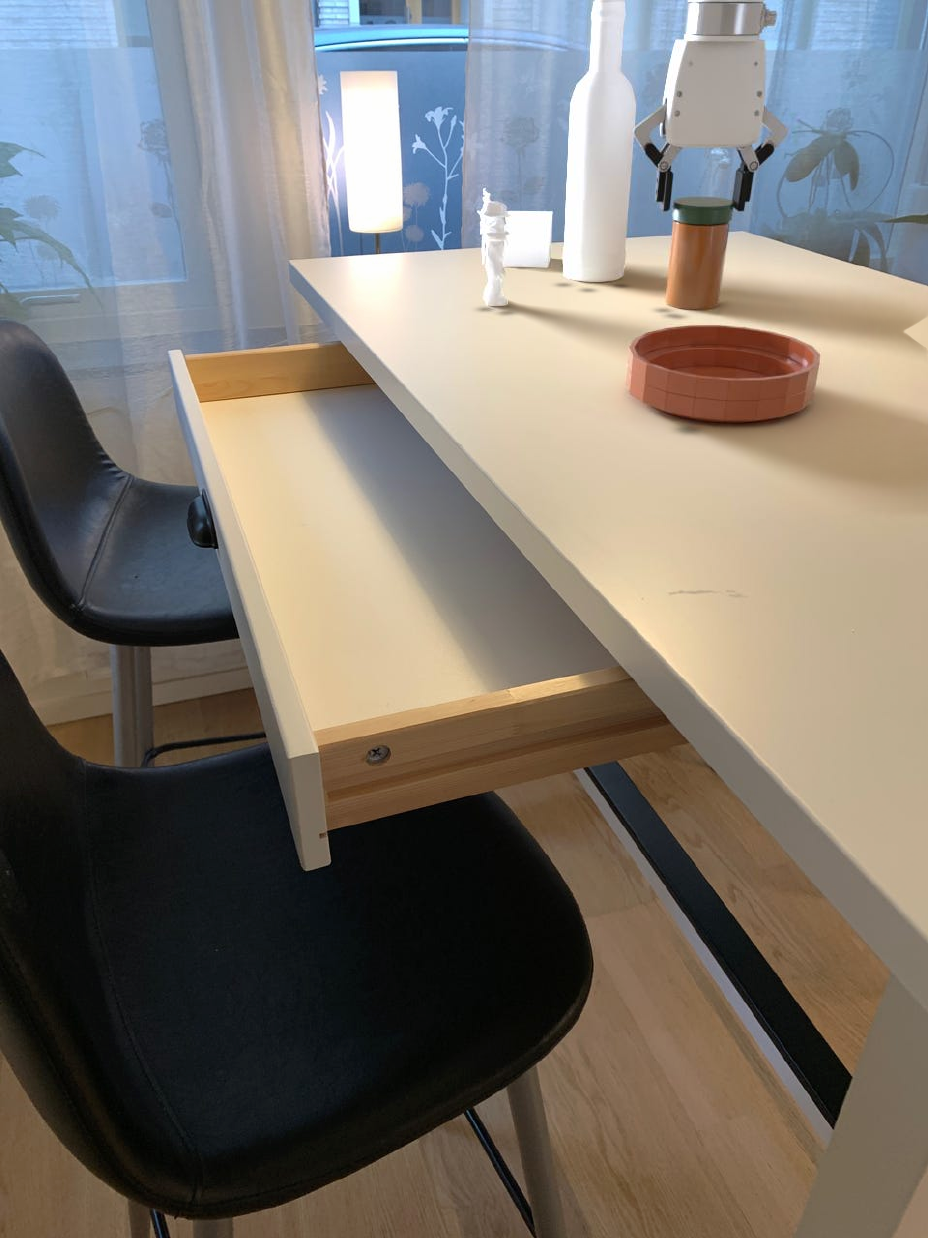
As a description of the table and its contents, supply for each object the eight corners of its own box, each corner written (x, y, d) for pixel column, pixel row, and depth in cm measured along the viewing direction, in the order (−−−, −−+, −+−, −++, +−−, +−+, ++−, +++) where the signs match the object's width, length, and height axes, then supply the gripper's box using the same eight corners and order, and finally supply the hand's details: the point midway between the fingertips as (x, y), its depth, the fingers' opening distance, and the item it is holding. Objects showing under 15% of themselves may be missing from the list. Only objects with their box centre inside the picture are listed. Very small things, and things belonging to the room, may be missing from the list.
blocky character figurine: (475, 292, 119) (475, 185, 113) (508, 291, 119) (509, 184, 113) (479, 312, 112) (479, 198, 105) (514, 311, 112) (516, 198, 105)
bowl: (782, 366, 94) (789, 324, 92) (836, 427, 80) (846, 379, 78) (615, 367, 94) (618, 325, 92) (640, 428, 81) (645, 380, 78)
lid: (725, 213, 112) (727, 196, 111) (738, 223, 107) (740, 206, 106) (667, 213, 112) (668, 196, 111) (677, 224, 107) (679, 206, 106)
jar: (712, 295, 117) (724, 200, 111) (724, 309, 112) (737, 209, 106) (660, 296, 117) (670, 200, 111) (670, 309, 112) (680, 210, 106)
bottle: (550, 277, 126) (560, -1, 110) (580, 265, 131) (594, -1, 115) (606, 285, 122) (625, -1, 106) (634, 273, 127) (657, -1, 111)
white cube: (503, 266, 131) (503, 218, 128) (507, 257, 136) (507, 210, 133) (548, 267, 130) (550, 219, 127) (550, 257, 135) (552, 211, 132)
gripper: (798, 22, 103) (770, 203, 112) (632, 22, 103) (618, 203, 112) (820, 24, 97) (788, 215, 106) (643, 24, 97) (627, 215, 106)
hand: (700, 207), depth 109 cm, fingers open, 7 cm apart
